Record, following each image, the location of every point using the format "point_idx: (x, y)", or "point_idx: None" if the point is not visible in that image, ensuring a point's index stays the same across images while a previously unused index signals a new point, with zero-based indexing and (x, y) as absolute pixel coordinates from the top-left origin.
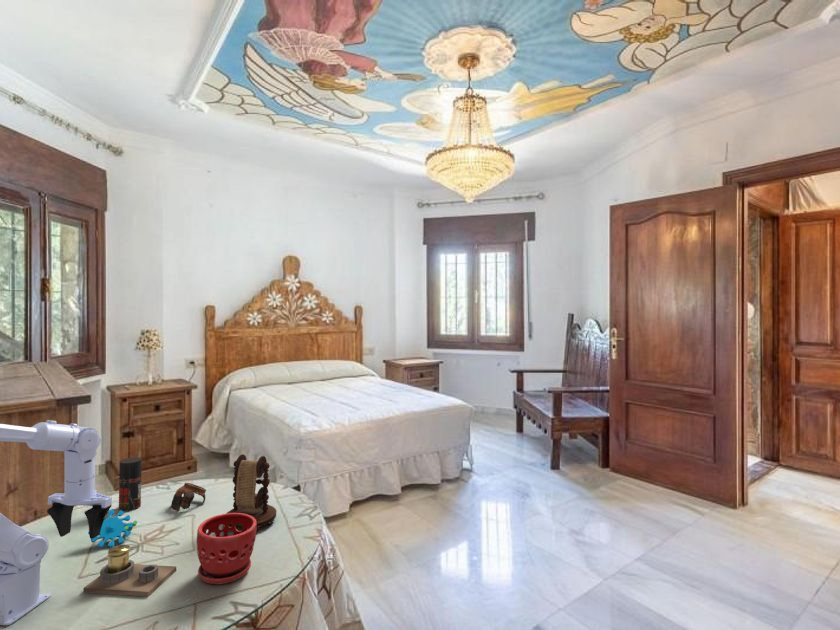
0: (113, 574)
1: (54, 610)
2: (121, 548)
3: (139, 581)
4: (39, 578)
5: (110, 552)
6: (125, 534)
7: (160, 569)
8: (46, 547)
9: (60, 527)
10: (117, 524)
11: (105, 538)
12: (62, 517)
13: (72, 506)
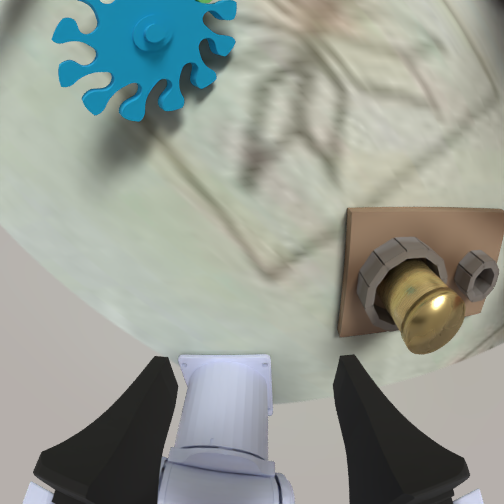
0: None
1: (318, 378)
2: (443, 321)
3: (457, 287)
4: (258, 413)
5: (419, 351)
6: (221, 18)
7: (484, 230)
8: (294, 498)
9: (167, 431)
10: (162, 7)
11: (169, 79)
12: (150, 465)
13: (109, 469)
